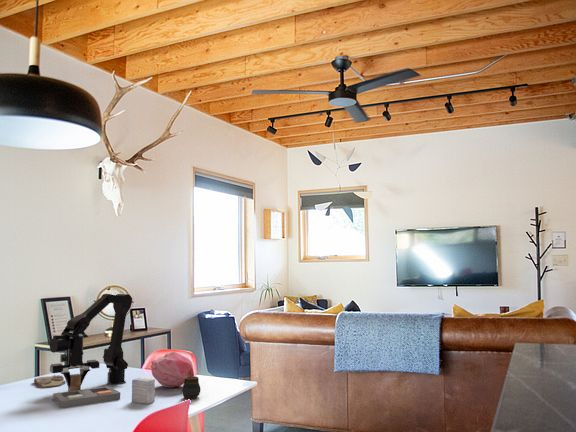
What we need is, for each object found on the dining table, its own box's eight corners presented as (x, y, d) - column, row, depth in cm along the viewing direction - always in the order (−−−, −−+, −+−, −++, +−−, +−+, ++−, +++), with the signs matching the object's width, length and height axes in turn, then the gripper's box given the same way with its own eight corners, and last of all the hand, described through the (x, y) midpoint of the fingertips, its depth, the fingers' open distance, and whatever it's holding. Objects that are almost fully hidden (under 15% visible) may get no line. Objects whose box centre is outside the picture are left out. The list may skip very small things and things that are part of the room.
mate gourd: (184, 401, 209) (185, 375, 210) (179, 396, 216) (179, 371, 217) (202, 398, 213) (202, 373, 214) (196, 394, 219) (197, 369, 220)
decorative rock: (194, 382, 241) (194, 348, 242) (193, 390, 227) (194, 354, 228) (151, 383, 237) (151, 349, 239) (148, 391, 223) (148, 355, 225)
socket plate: (109, 391, 223) (109, 384, 223) (120, 399, 212) (120, 391, 212) (53, 399, 210) (53, 391, 210) (61, 408, 199) (61, 399, 199)
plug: (77, 390, 225) (78, 373, 226) (80, 392, 222) (81, 375, 223) (67, 391, 223) (68, 374, 223) (70, 393, 220) (71, 376, 220)
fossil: (57, 379, 247) (58, 372, 247) (67, 386, 235) (68, 378, 235) (31, 382, 240) (32, 374, 240) (40, 389, 228) (41, 381, 228)
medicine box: (154, 401, 208) (155, 379, 209) (147, 404, 204) (147, 381, 205) (138, 399, 212) (139, 377, 212) (131, 402, 208) (131, 379, 208)
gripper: (92, 344, 236) (91, 380, 235) (47, 348, 225) (46, 386, 224) (100, 348, 227) (99, 385, 226) (53, 352, 216) (52, 391, 215)
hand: (74, 387), depth 223 cm, fingers closed on plug, 4 cm apart
